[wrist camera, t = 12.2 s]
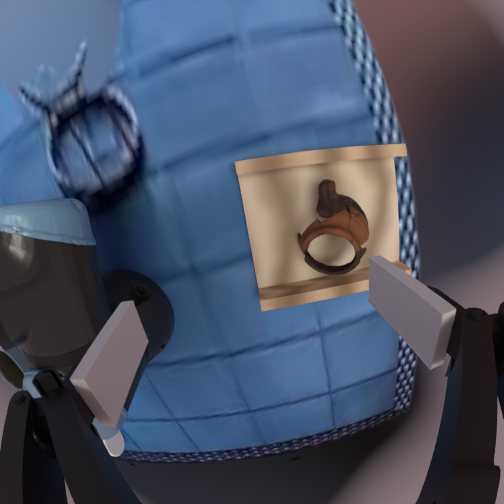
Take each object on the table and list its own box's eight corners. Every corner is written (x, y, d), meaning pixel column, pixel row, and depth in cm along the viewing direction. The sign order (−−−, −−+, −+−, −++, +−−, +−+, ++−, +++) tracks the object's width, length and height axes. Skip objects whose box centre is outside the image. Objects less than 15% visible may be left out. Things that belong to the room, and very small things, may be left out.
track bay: (259, 294, 41) (261, 311, 36) (235, 162, 35) (234, 161, 31) (395, 267, 41) (410, 279, 36) (387, 145, 35) (405, 143, 30)
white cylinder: (127, 438, 52) (119, 462, 45) (98, 436, 53) (89, 457, 45) (102, 408, 49) (90, 432, 41) (73, 406, 49) (61, 428, 42)
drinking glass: (26, 348, 44) (-1, 379, 33) (18, 311, 41) (-15, 340, 30) (59, 364, 45) (34, 399, 34) (52, 326, 42) (20, 361, 31)
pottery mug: (373, 236, 38) (375, 276, 32) (312, 245, 43) (304, 284, 37) (354, 160, 32) (356, 190, 26) (285, 176, 36) (271, 208, 30)
